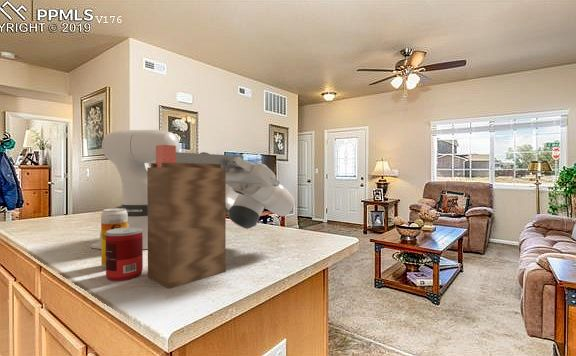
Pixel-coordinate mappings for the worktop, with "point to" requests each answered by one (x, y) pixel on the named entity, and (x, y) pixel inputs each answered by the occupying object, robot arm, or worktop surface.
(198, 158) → the metal block
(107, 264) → the canned food
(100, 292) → the worktop surface
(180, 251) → the wooden slab
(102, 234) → the beer can
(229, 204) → the robot arm
